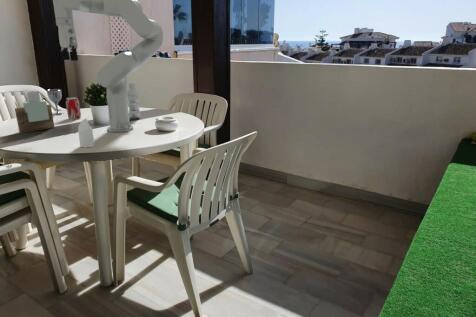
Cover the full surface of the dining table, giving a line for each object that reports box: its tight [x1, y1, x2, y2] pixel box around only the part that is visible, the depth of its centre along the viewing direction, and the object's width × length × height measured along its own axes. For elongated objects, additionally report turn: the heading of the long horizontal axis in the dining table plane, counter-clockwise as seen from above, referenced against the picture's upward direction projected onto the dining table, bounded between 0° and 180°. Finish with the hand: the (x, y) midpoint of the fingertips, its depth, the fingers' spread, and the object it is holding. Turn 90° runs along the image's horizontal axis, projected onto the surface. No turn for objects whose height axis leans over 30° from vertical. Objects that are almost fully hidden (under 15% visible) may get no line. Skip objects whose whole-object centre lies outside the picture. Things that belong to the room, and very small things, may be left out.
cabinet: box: [22, 90, 49, 122], centre depth 174 cm, size 5×9×14 cm, turn 136°
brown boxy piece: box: [14, 103, 56, 134], centre depth 180 cm, size 11×16×12 cm
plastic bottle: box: [127, 83, 141, 120], centre depth 205 cm, size 6×7×20 cm
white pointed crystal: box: [77, 118, 95, 149], centre depth 151 cm, size 6×12×6 cm
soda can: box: [65, 96, 82, 120], centre depth 206 cm, size 7×7×12 cm
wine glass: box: [46, 88, 65, 116], centre depth 218 cm, size 8×8×15 cm
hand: (70, 60), depth 172 cm, fingers open, 9 cm apart
